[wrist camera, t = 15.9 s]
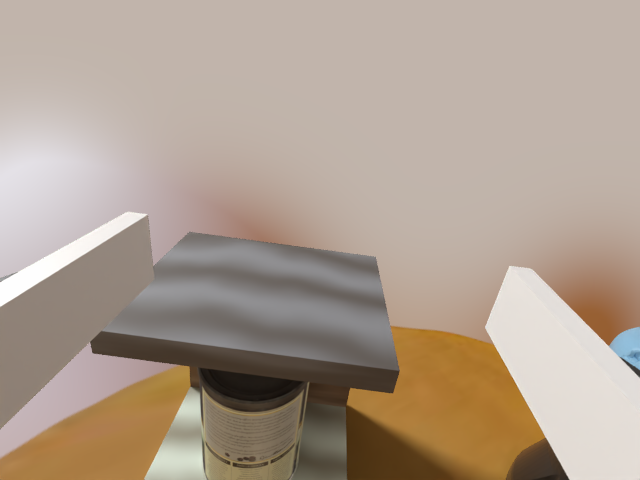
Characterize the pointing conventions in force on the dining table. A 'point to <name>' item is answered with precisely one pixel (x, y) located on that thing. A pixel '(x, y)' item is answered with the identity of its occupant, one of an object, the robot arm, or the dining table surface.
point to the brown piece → (261, 337)
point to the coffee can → (250, 425)
